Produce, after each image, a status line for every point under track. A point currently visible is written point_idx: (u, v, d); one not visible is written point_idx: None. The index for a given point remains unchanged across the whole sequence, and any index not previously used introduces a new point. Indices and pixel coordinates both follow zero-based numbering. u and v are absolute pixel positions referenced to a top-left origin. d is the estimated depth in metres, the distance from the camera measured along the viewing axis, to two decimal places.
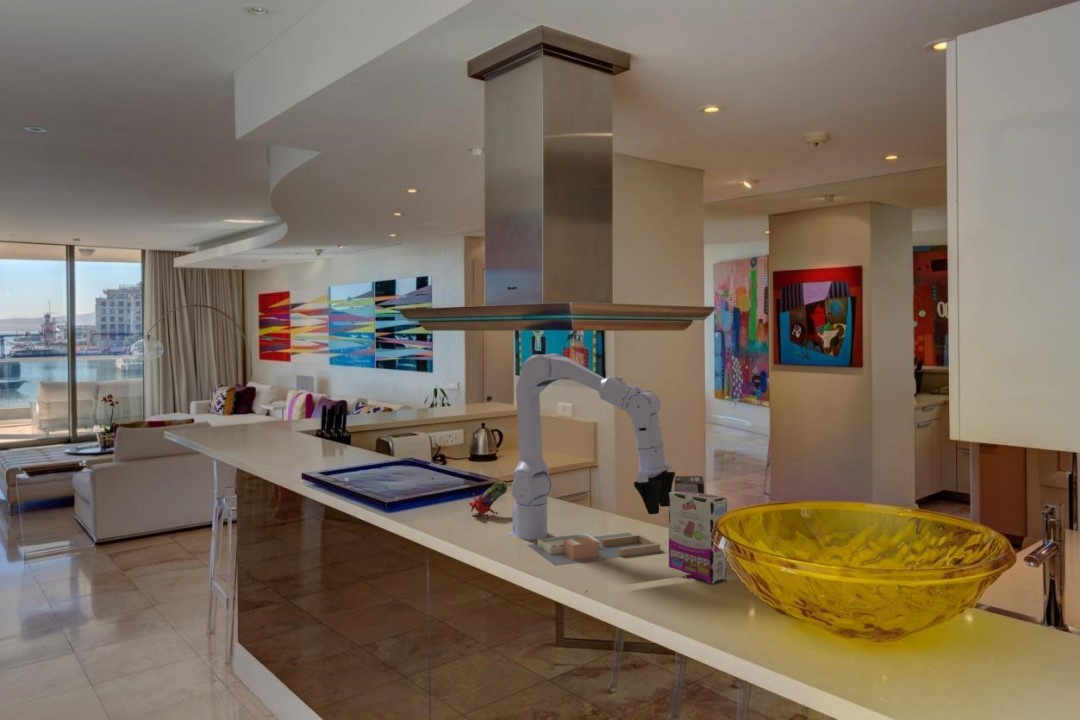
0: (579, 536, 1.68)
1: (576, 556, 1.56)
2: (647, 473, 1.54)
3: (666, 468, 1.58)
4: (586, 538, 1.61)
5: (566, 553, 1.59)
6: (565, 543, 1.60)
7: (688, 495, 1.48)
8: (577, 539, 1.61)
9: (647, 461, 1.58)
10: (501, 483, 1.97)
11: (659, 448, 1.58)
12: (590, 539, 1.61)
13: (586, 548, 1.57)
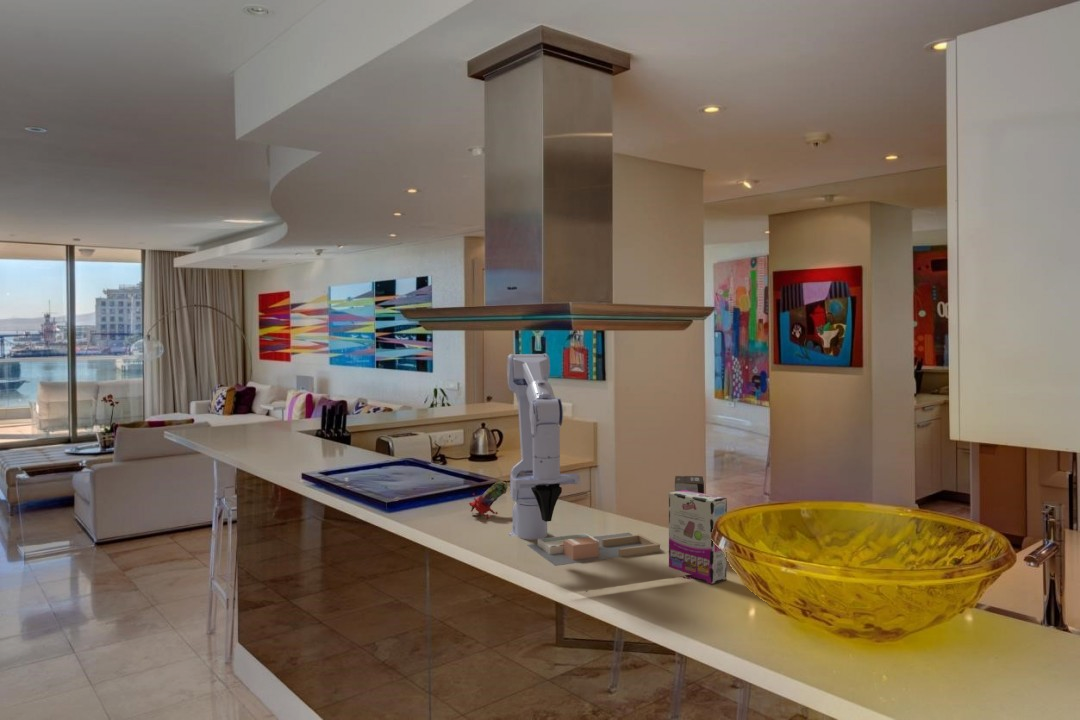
0: (579, 536, 1.68)
1: (576, 556, 1.56)
2: (519, 481, 1.52)
3: (547, 481, 1.52)
4: (586, 538, 1.61)
5: (566, 553, 1.59)
6: (565, 543, 1.60)
7: (688, 495, 1.48)
8: (577, 539, 1.61)
9: (533, 469, 1.55)
10: (501, 483, 1.97)
11: (545, 459, 1.53)
12: (590, 539, 1.61)
13: (586, 548, 1.57)
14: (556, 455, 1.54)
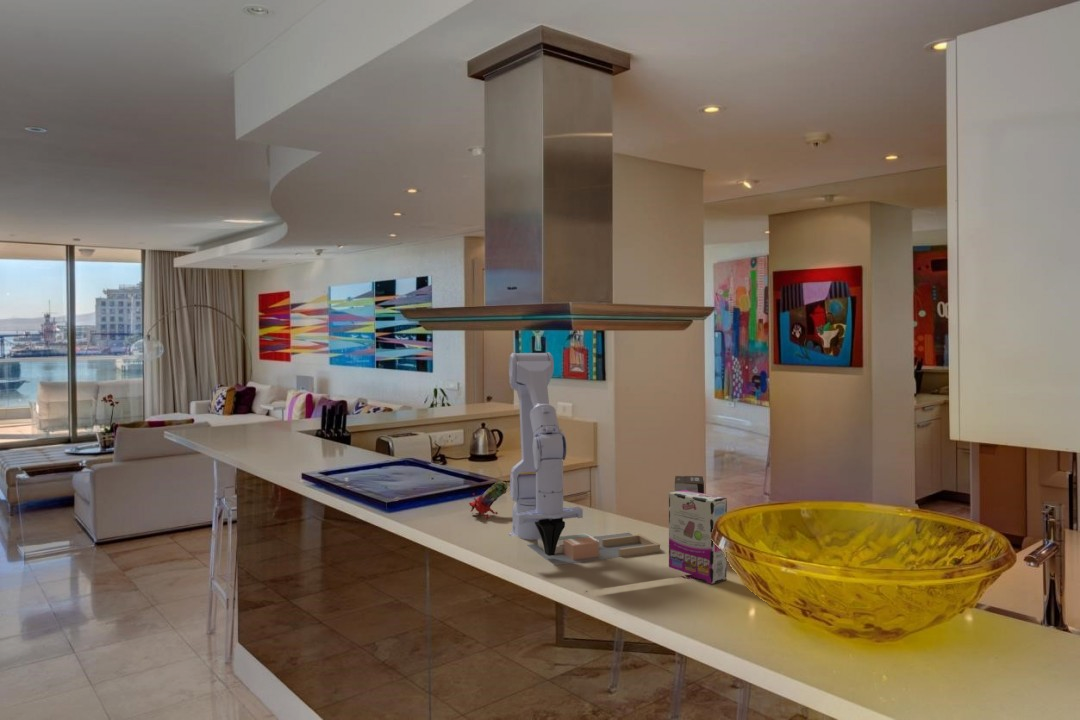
0: (579, 536, 1.68)
1: (576, 556, 1.56)
2: (522, 516, 1.53)
3: (551, 516, 1.53)
4: (586, 538, 1.61)
5: (566, 553, 1.59)
6: (565, 543, 1.60)
7: (688, 495, 1.48)
8: (577, 539, 1.61)
9: (537, 503, 1.55)
10: (501, 483, 1.97)
11: (548, 494, 1.53)
12: (590, 539, 1.61)
13: (586, 548, 1.57)
14: (560, 490, 1.54)
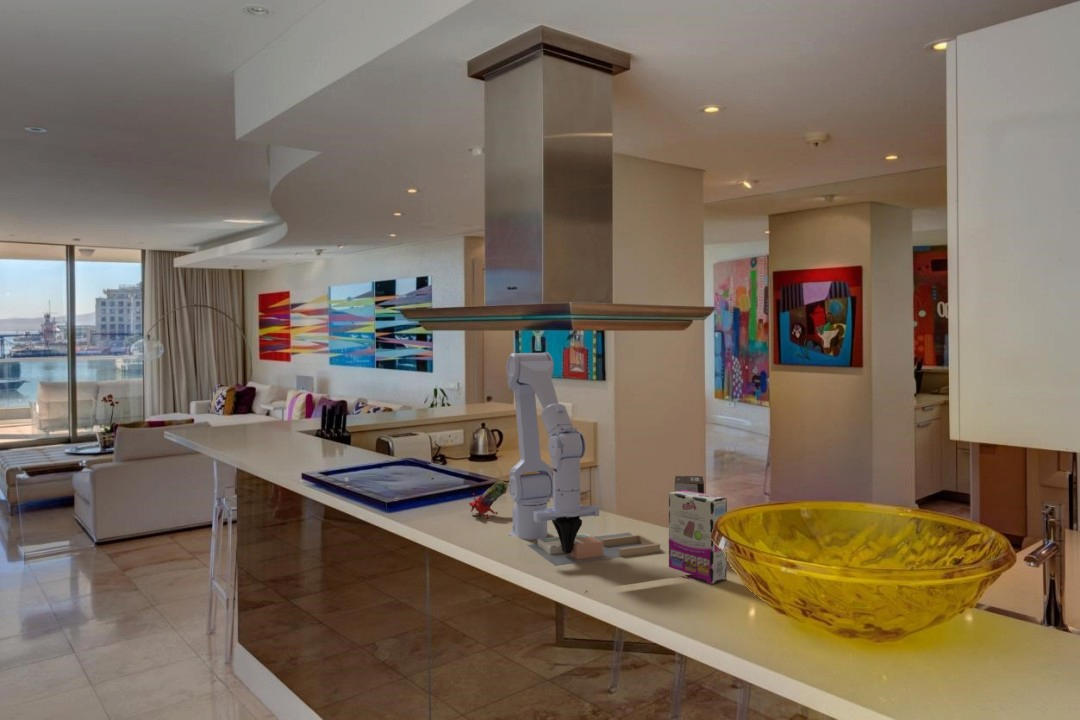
0: (579, 536, 1.68)
1: (580, 555, 1.57)
2: (540, 514, 1.54)
3: (568, 514, 1.54)
4: (590, 538, 1.62)
5: None
6: None
7: (688, 495, 1.48)
8: (581, 539, 1.61)
9: (554, 501, 1.57)
10: (501, 483, 1.97)
11: (566, 493, 1.55)
12: (594, 539, 1.61)
13: (590, 547, 1.57)
14: (578, 487, 1.56)
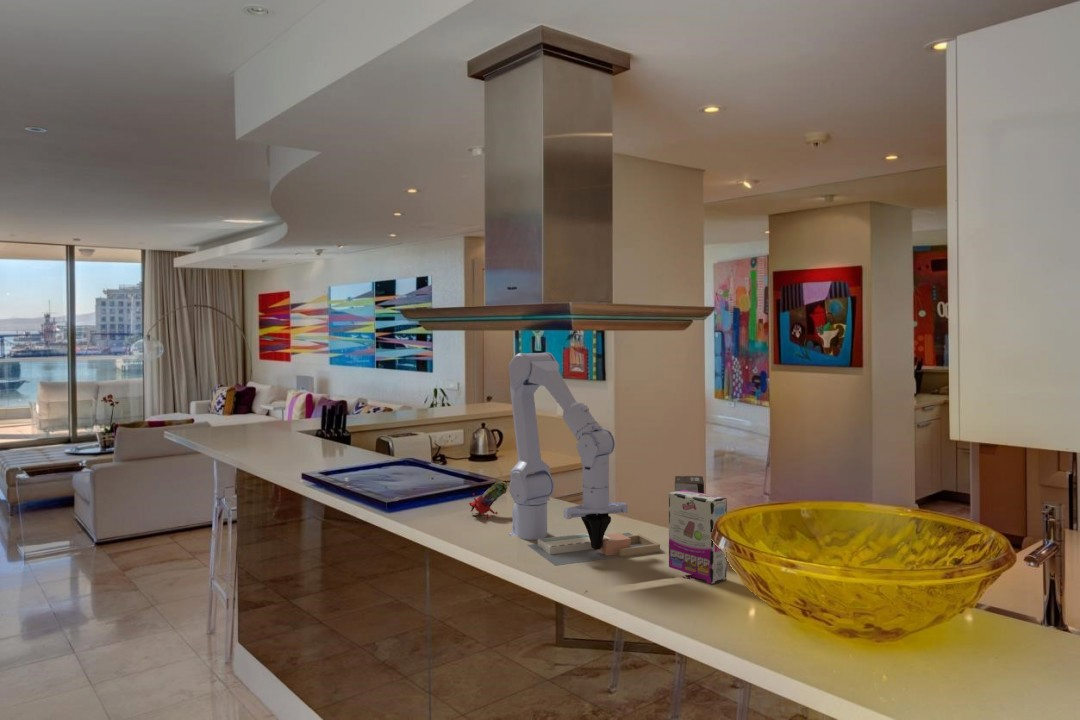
0: (579, 536, 1.68)
1: (609, 552, 1.59)
2: (570, 511, 1.57)
3: (598, 511, 1.57)
4: (618, 534, 1.64)
5: (598, 549, 1.62)
6: None
7: (688, 495, 1.48)
8: (609, 535, 1.63)
9: (584, 498, 1.59)
10: (501, 483, 1.97)
11: (596, 490, 1.57)
12: (622, 535, 1.63)
13: (619, 544, 1.60)
14: None
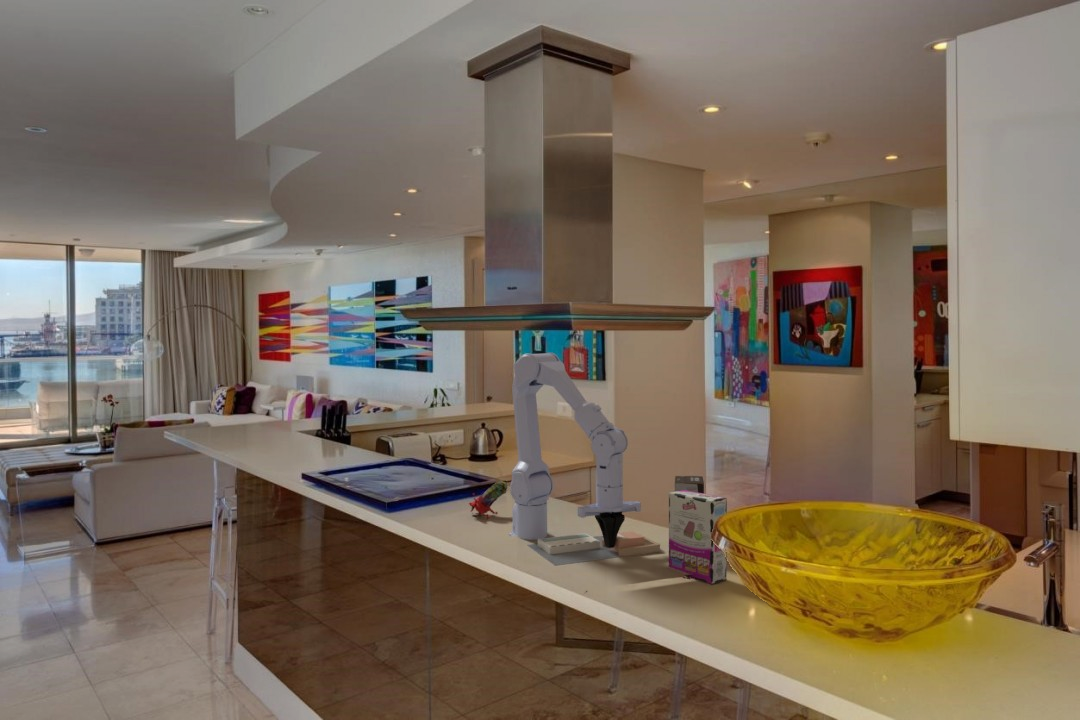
0: (579, 536, 1.68)
1: None
2: (584, 509, 1.58)
3: (612, 510, 1.58)
4: (631, 533, 1.66)
5: None
6: None
7: (688, 495, 1.48)
8: (622, 534, 1.65)
9: (597, 497, 1.61)
10: (501, 483, 1.97)
11: (609, 489, 1.59)
12: (635, 534, 1.65)
13: (632, 542, 1.61)
14: None
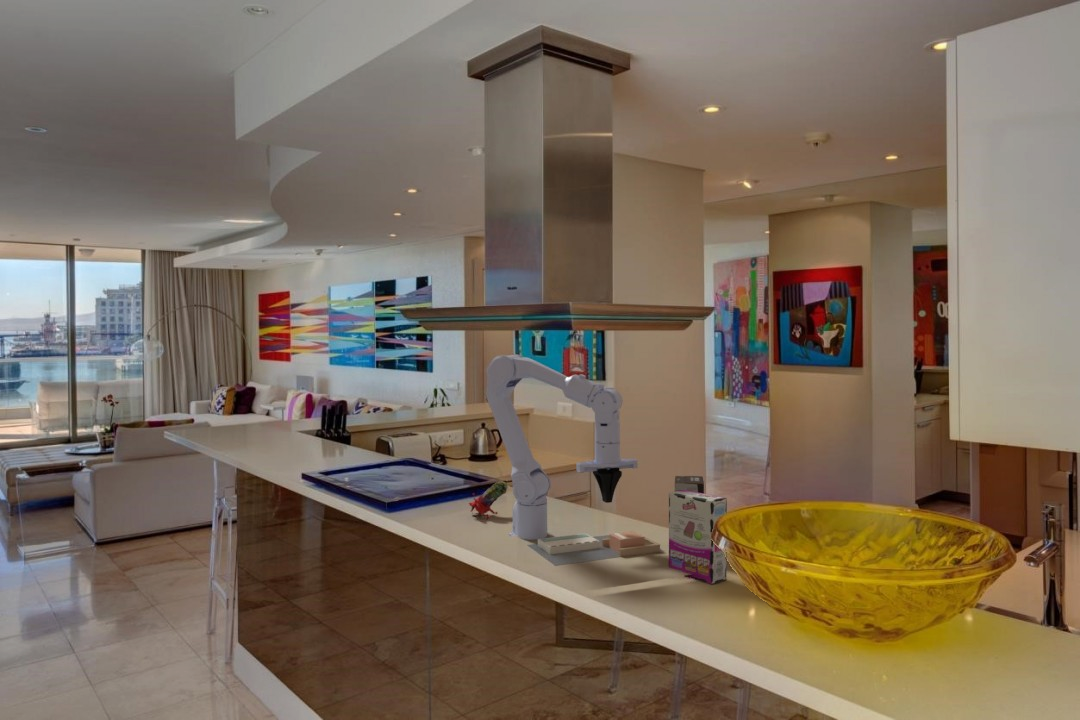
0: (579, 536, 1.68)
1: None
2: (583, 465, 1.65)
3: (609, 465, 1.64)
4: (631, 533, 1.66)
5: (612, 547, 1.63)
6: (611, 537, 1.64)
7: (688, 495, 1.48)
8: (623, 533, 1.65)
9: (595, 454, 1.67)
10: (501, 483, 1.97)
11: (607, 445, 1.65)
12: (635, 533, 1.65)
13: (632, 542, 1.61)
14: None
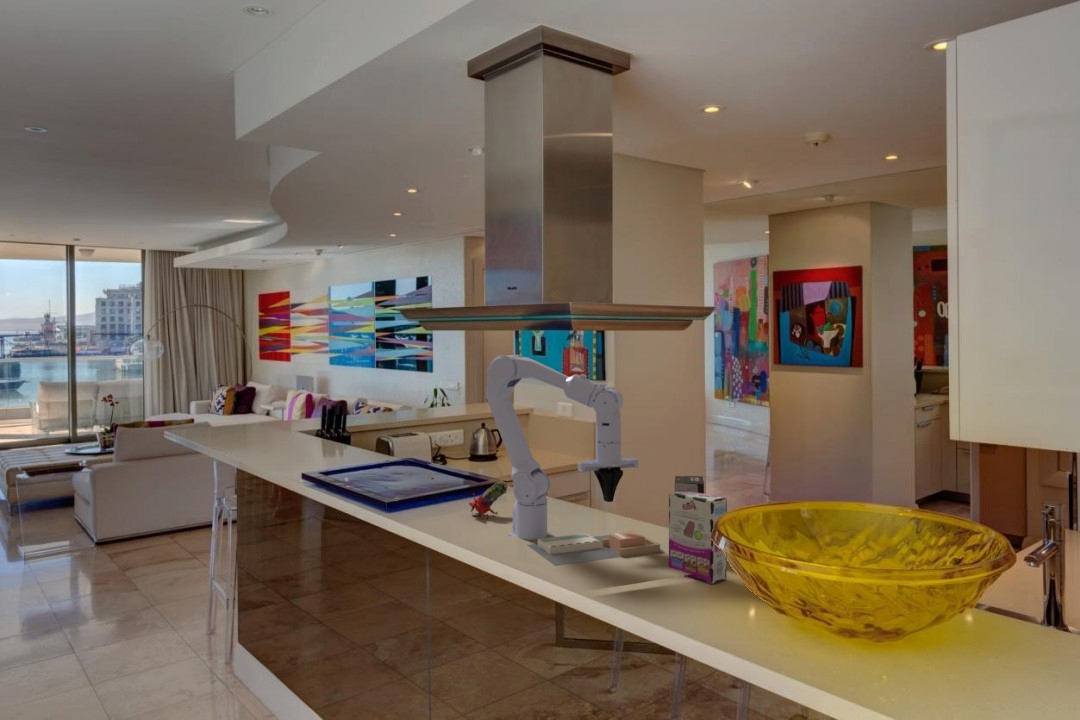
0: (579, 536, 1.68)
1: None
2: (584, 464, 1.65)
3: (611, 464, 1.65)
4: (631, 533, 1.66)
5: (612, 547, 1.63)
6: (611, 537, 1.64)
7: (688, 495, 1.48)
8: (623, 533, 1.65)
9: (597, 453, 1.67)
10: (501, 483, 1.97)
11: (608, 444, 1.66)
12: (635, 533, 1.65)
13: (632, 542, 1.61)
14: None
